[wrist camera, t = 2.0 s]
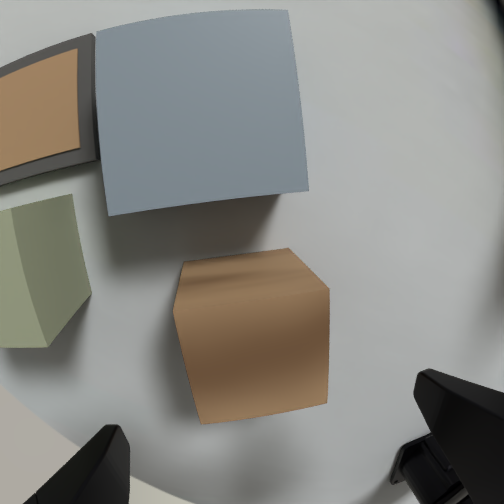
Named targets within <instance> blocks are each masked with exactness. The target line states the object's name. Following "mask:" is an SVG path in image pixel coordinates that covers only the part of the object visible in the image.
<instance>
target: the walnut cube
mask: <svg viewBox="0 0 504 504" xmlns="http://www.w3.org/2000/svg"><path fill="white" fill-rule="evenodd" d="M173 315H174V319H175V324H176V329H177V333H178V337H179V342H180V346H181V350H182V355H183V359H184V363H185V367H186V371H187V375H188V379H189V383H190V386H191V390H192V394H193V398H194V401H195V405H196V409H197V412H198V416H199V419H200V423H201V424H210V423H219V422H227V421H235V420H242V419H249V418H255V417H261V416H267V415H273V414H278V413H284V412H289V411H294V410H298V409H303V408H308V407H312V406H317V405H321V404H325V403H327V396H328V372H329V325H330V298H329V288H328V287H327V286H326V285H325V284H324V283H323V282H322V281H321V280H320V279H319V278H318V277H317V276H316V275H315V274H314V273H313V272H312V271H311V270H310V269H309V268H308V267H307V266H306V265H305V264H304V263H303V262H302V261H301V260H300V259H299V258H298V257H297V256H296V255H295V254H294V253H293V252H292V251H291V250H290V249H289V248H285V249H277V250H270V251H262V252H255V253H247V254H239V255H232V256H224V257H216V258H208V259H201V260H193V261H185V262H184V263H183V267H182V272H181V276H180V280H179V285H178V289H177V294H176V298H175V303H174V308H173Z"/></svg>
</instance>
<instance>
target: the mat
mask: <svg viewBox="0 0 504 504" xmlns="http://www.w3.org/2000/svg"><path fill="white" fill-rule="evenodd" d="M97 160H100V155H99V144H98V132H97V116H96V95H95V36H94V35H93V34H92V33H90V34H87V35H83V36H80V37H77V38H74V39H71V40H68V41H65V42H62V43H59V44H56V45H53V46H50V47H48V48H45V49H42V50H40V51H37V52H35V53H32V54H30V55H27V56H25V57H23V58H20V59H18V60H16V61H14V62H11V63H9V64H7V65H5V66H3V67H1V68H0V186H2V185H5V184H8V183H12V182H15V181H18V180H22V179H25V178H28V177H32V176H36V175H39V174H43V173H47V172H50V171H54V170H58V169H62V168H66V167H70V166H75V165H79V164H83V163H88V162H92V161H97Z"/></svg>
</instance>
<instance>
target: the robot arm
mask: <svg viewBox="0 0 504 504" xmlns="http://www.w3.org/2000/svg"><path fill="white" fill-rule="evenodd" d="M413 394H414V398H415V401H416V403H417V405H418V407H419V409H420V411H421V413H422V415H423V417H424V419H425V421H426V423H427V425H428V427H429V429H430V431H431V433H430V434H428V435H426V436H424V437H422V438H419V439H417V440H415V441H412V442H410V443H408V444H406V445H404V446H403V448H402V450H401V453H400V455H399V458H398V461H397V464H396V466H395V469H394V472H393V474H392V477H391V479H390V483H391V484H392V485H394V484H397V483H399V482H402V481H404V480H406V482H407V484H408V485H409V487H410V489H411V490H412V492H413V493H414V495H415V497H416V498H417V500H418V502H419V503H420V504H504V393H503V392H500V391H496V390H493V389H490V388H487V387H484V386H481V385H478V384H475V383H472V382H469V381H466V380H463V379H460V378H457V377H454V376H451V375H448V374H445V373H442V372H439V371H436V370H433V369H426V370H423V371H420V372H419V373H418V375H417V378H416V383H415V387H414V393H413ZM129 493H130V446H129V443H128V441H127V439H126V437H125V435H124V433H123V431H122V428H121V427H120V426H119V425H117V424H107V425H105V426H104V427H103V428H102V429H101V430H100V431H99V432H98V433H96V434H95V435H94V436H93V437H92V438H91V439H90V440H89V441H88V442H87V443H86V444H85V445H84V446H83V447H82V448H81V449H80V450H79V451H78V452H77V453H76V454H75V455H74V456H73V457H72V458H71V459H70V460H69V461H68V462H67V463H66V464H65V465H64V466H63V467H61V468H60V469H59V470H58V471H57V472H56V473H55V474H54V475H53V476H52V477H51V478H50V479H49V480H48V481H47V482H46V483H45V484H44V485H43V486H42V487H41V488H39V489H38V490H37V492H36V493H34V494H33V495H32V496H31V497H30V498H29V499H28V500H27V501H25V502H24V503H23V504H128V502H129Z"/></svg>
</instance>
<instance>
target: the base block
mask: <svg viewBox="0 0 504 504" xmlns="http://www.w3.org/2000/svg"><path fill="white" fill-rule="evenodd" d="M96 93H97V115H98V130H99V142H100V153H101V163H102V172H103V180H104V188H105V195H106V202H107V209H108V215H109V216H114V215H120V214H126V213H133V212H139V211H146V210H152V209H159V208H166V207H173V206H180V205H187V204H195V203H202V202H210V201H218V200H227V199H235V198H244V197H253V196H262V195H272V194H282V193H293V192H304V191H309V185H308V172H307V161H306V149H305V139H304V129H303V119H302V110H301V101H300V92H299V84H298V76H297V69H296V61H295V54H294V47H293V40H292V33H291V27H290V20H289V14H288V10H275V9H251V10H225V11H211V12H200V13H191V14H182V15H175V16H168V17H162V18H156V19H150V20H145V21H139V22H135V23H130V24H125V25H121V26H117V27H113V28H109V29H105V30H101V31H97V34H96Z"/></svg>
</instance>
